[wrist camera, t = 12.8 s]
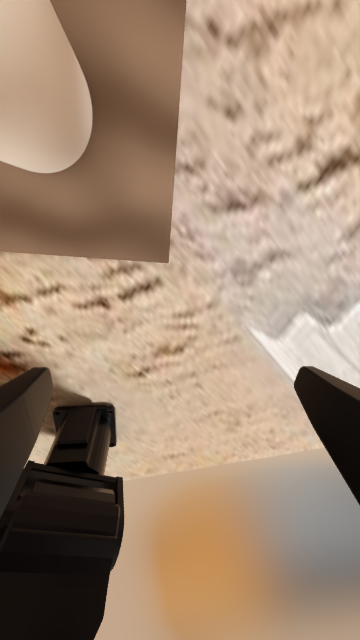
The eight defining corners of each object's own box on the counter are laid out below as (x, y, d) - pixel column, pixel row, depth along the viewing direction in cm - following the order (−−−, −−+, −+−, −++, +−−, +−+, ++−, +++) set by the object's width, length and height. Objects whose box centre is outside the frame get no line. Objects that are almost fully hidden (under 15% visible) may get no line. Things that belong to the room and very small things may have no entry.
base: (166, 257, 19) (168, 263, 16) (-49, 241, 16) (-80, 245, 14) (185, -43, 12) (193, -102, 10) (-176, -145, 10) (-276, -255, 7)
